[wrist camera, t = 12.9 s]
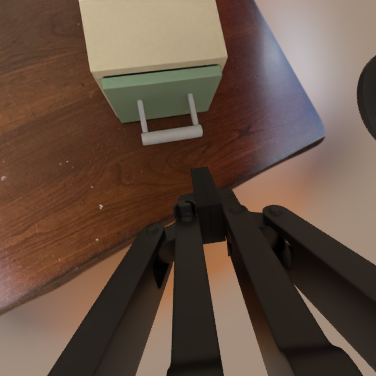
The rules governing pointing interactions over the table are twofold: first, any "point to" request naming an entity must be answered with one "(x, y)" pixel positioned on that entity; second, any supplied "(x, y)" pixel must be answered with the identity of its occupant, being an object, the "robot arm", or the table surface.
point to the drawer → (163, 98)
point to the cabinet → (150, 36)
